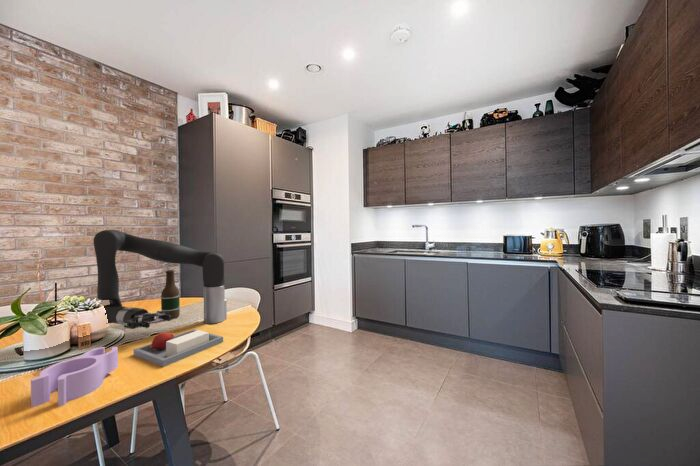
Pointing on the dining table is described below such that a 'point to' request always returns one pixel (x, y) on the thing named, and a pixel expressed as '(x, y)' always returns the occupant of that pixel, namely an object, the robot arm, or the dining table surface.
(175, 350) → the white box
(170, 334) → the onion
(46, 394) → the clip
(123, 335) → the dining table surface
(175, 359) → the tray
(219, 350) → the dining table surface
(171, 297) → the beer bottle
